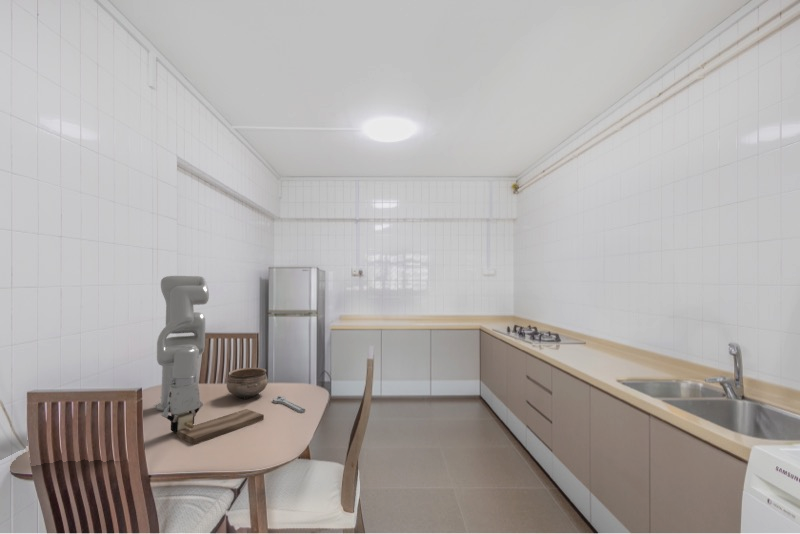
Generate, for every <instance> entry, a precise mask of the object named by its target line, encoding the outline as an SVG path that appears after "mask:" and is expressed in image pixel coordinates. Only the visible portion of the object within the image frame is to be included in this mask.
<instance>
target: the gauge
mask: <svg viewBox="0 0 800 534" xmlns="http://www.w3.org/2000/svg"><path fill="white" fill-rule="evenodd" d="M176 421H177V422H178V427H177V433H175V435H176V434H177V435H178V430H181V429H185V428H188V427H190V428H193V427H194V424H193V414H191V413H189V412H185V413H182V414H178V417H177V420H176Z"/></svg>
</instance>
